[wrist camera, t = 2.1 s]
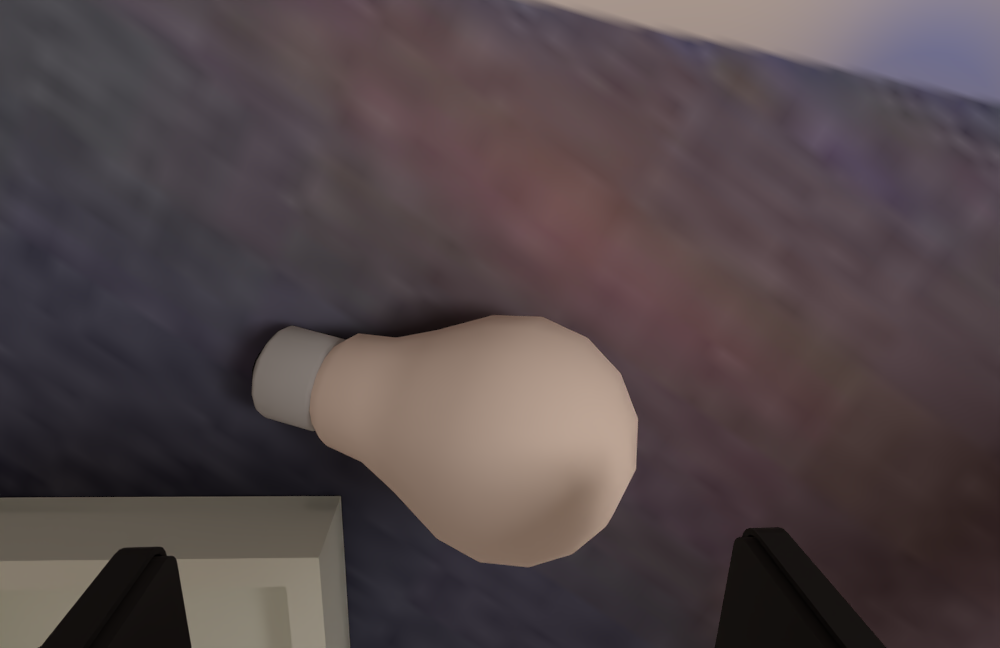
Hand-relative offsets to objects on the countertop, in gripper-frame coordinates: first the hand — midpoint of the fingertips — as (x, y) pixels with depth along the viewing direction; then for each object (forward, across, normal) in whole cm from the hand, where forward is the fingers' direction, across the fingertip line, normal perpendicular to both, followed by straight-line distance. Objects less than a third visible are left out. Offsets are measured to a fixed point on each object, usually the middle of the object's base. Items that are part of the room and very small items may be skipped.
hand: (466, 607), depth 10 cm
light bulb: (+10, 0, 0) cm, 10 cm away
